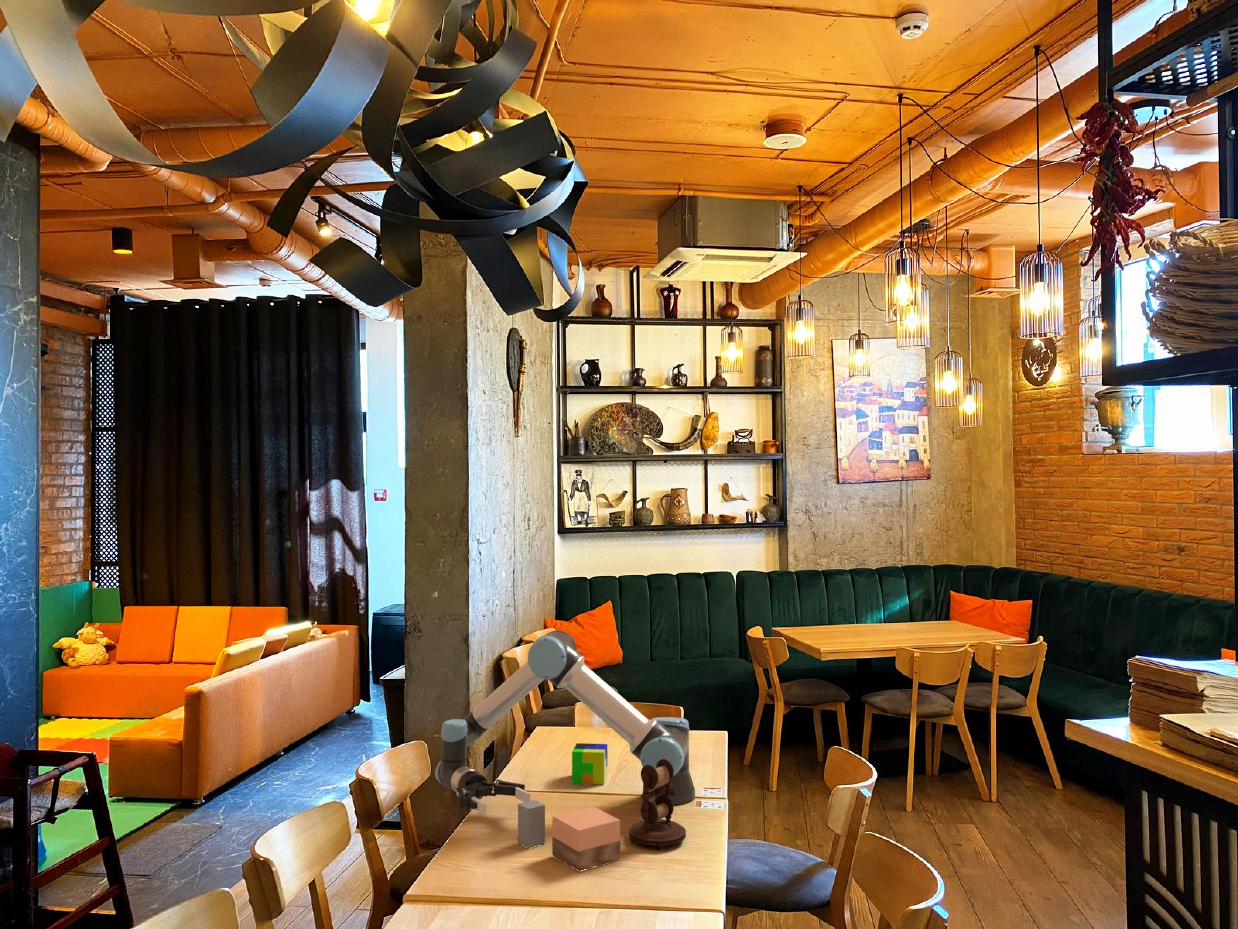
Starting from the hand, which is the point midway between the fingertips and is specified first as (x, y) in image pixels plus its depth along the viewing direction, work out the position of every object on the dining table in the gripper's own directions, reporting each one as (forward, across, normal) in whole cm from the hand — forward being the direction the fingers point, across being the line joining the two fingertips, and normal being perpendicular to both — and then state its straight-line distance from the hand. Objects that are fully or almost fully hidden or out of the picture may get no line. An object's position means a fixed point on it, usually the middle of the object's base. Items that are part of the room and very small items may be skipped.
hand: (507, 803), depth 235 cm
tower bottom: (+28, -6, -7) cm, 30 cm away
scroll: (+30, -27, -7) cm, 41 cm away
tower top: (+28, -6, -2) cm, 29 cm away
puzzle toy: (-22, -43, -7) cm, 49 cm away
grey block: (+12, 0, -7) cm, 14 cm away
